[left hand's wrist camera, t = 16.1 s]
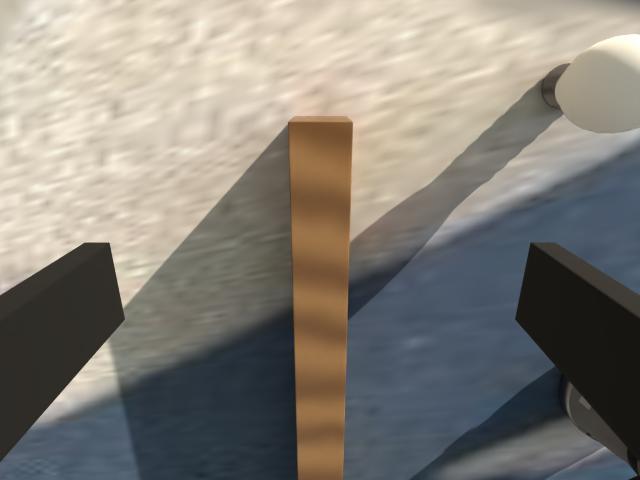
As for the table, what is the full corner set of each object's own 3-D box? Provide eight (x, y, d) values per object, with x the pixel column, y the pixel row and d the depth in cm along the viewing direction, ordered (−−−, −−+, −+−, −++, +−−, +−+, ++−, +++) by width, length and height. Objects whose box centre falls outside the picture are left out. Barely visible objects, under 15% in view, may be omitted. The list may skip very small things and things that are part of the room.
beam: (294, 116, 36) (288, 121, 29) (346, 116, 36) (353, 121, 29) (304, 603, 62) (302, 666, 55) (335, 603, 62) (337, 666, 55)
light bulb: (617, 74, 35) (742, 65, 24) (563, 140, 37) (659, 158, 26) (561, 30, 33) (668, 0, 23) (508, 101, 35) (586, 103, 25)
